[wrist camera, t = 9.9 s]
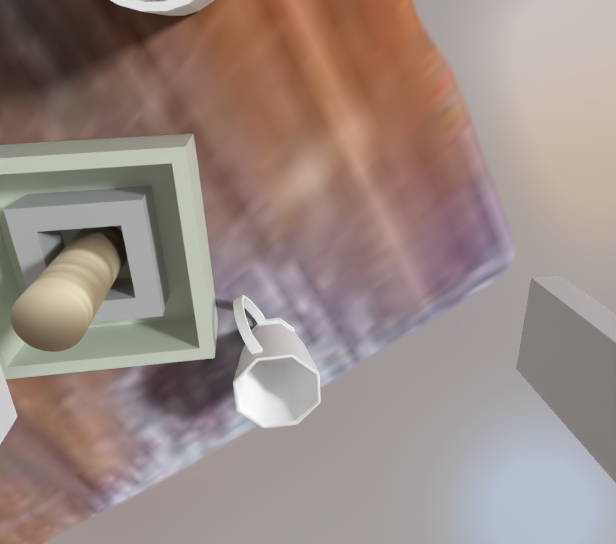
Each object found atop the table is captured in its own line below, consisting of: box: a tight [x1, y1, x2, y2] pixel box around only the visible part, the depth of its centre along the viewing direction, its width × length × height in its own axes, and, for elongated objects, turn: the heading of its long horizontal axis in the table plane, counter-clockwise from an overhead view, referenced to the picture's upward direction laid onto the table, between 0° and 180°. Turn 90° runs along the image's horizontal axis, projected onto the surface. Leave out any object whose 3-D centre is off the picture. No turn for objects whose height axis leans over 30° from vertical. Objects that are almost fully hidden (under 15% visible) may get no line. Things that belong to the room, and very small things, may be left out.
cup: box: [233, 295, 321, 428], centre depth 41 cm, size 7×10×8 cm
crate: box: [0, 133, 218, 379], centre depth 37 cm, size 16×16×6 cm
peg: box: [10, 226, 128, 352], centre depth 34 cm, size 4×4×12 cm
